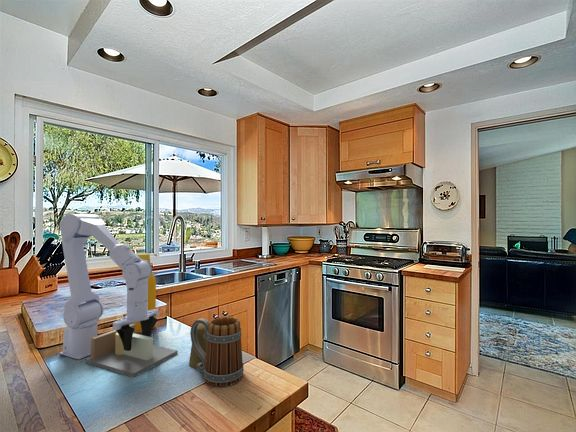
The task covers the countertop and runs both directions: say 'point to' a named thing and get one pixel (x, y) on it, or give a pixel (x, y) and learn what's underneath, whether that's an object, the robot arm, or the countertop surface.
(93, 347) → the cabinet base
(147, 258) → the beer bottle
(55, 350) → the countertop surface
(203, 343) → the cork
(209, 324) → the mug
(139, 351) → the door
